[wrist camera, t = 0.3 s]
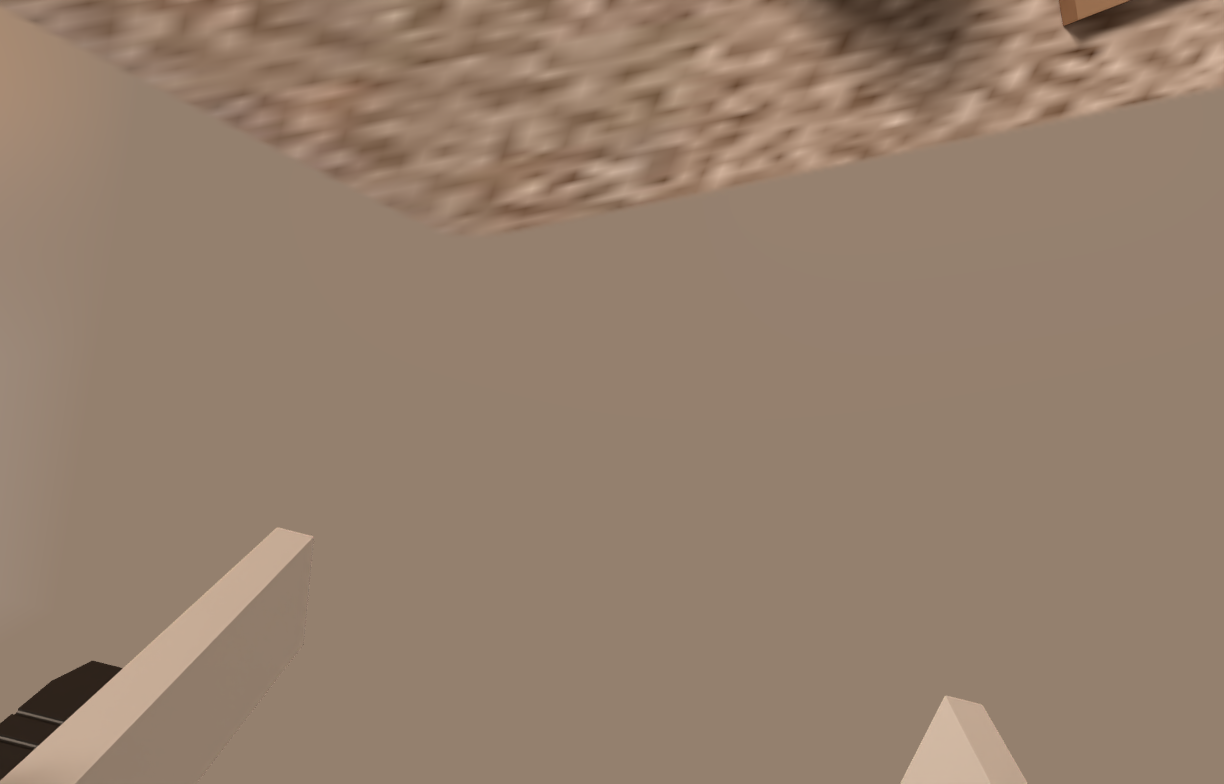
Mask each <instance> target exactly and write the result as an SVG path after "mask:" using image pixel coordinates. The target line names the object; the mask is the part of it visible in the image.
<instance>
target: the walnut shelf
mask: <svg viewBox="0 0 1224 784" xmlns="http://www.w3.org/2000/svg"><path fill="white" fill-rule="evenodd" d="M1128 1H1131V0H1059V3H1060V9H1061V15H1062V20H1063V26H1065V25H1068V24H1070V23H1073V22H1076V21H1078V20H1081V19H1083V18H1086V17H1089V16H1091V15H1094V14H1097V13H1099V12H1102V11H1104V10H1107V9H1110V8H1112V7H1115V6H1118V5H1120V4H1123V3H1126V2H1128Z"/></svg>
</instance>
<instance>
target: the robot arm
mask: <svg viewBox="0 0 1224 784" xmlns="http://www.w3.org/2000/svg"><path fill="white" fill-rule="evenodd" d="M313 540H314V537H313V536H310V535H306V534H302V533H298V532H294V531H290V530H286V529H282V528H278V527H277V528H276V529H275V530H274V531H273V532H271V533H270V534H269V535H268V536H267V537H266V538H265V539H264V540H263V541H262V542H261V543H260V544H258V545H257V546H256V547H255V548H254V549H253V550H252V551H251V552H250V553H249V554H248V555H246V556H245V557H244V558H243V559H242V560H241V561H240V562H239V563H238V564H237V565H235V566H234V567H233V568H232V569H231V570H230V571H229V572H228V573H227V574H226V575H225V576H224V577H222V578H221V579H220V580H219V581H218V582H217V583H216V584H215V585H214V586H212V587H211V588H210V589H209V590H208V591H207V592H206V593H205V594H204V595H203V596H202V597H201V598H199V599H198V600H197V601H196V602H195V603H194V604H193V605H192V606H191V607H190V608H188V609H187V610H186V611H185V612H184V613H183V614H182V615H181V616H180V617H179V618H178V619H177V620H175V621H174V622H173V623H172V624H171V625H170V626H169V627H168V628H167V629H166V630H164V631H163V632H162V633H161V634H160V635H159V636H158V637H157V638H156V639H155V640H154V641H152V642H151V643H150V644H149V645H148V646H147V647H146V648H145V649H144V650H143V651H141V653H139V654H138V655H137V656H136V657H135V658H134V659H133V660H132V661H131V662H129V663H128V664H127V665H126V666H125V667H124V668H120V667H116V666H111V665H107V664H104V663H100V662H96V661H91V662H89V663H87V664H85V665H83V666H81V667H79V668H77V669H75V670H73V671H71V672H69V673H67V674H65V675H63V676H61V677H59V678H57V679H55V680H53V681H51V682H50V683H49V684H48V685H46V686H45V687H44V688H43V689H41V690H40V691H39V692H38V693H37V694H35V695H34V696H33V697H32V698H31V699H29V700H28V701H27V702H26V703H24V704H23V705H22V706H21V707H20V708H19V709H18V711H17V713H16V714H15V715H13V714H11V715H10V716H9V717H8V718H6V719H5V720H4V721H3V722H2V723H0V784H196V783H197V782H198V781H199V780H200V778H201V777H202V776H203V774H204V773H205V772H206V770H207V769H208V768H209V767H210V765H211V764H212V763H213V761H214V760H215V759H216V758H217V756H218V755H219V754H220V752H221V751H222V750H223V748H224V747H225V746H226V745H227V743H228V742H229V741H230V739H231V738H232V737H233V735H234V734H235V733H236V732H237V730H238V729H239V728H240V726H241V725H242V724H243V722H244V721H245V720H246V719H247V717H248V716H249V715H250V713H251V712H252V711H253V710H254V708H255V707H256V706H257V704H258V703H259V702H260V700H261V699H262V698H263V697H264V695H265V694H266V693H267V691H268V690H269V688H270V687H271V686H272V685H273V684H274V682H275V681H276V680H277V678H278V677H279V676H280V674H281V673H282V672H283V670H284V669H285V668H286V667H287V665H288V664H289V663H290V661H291V660H292V659H293V658H294V656H295V655H296V654H297V652H298V651H299V650H300V648H301V647H302V646H303V643H304V634H305V623H306V613H307V602H308V592H309V582H310V571H311V561H312V550H313ZM900 784H1028V783H1027V781H1026V780H1025V778H1024V776H1023V774H1022V773H1021V771H1020V769H1019V767H1018V766H1017V764H1016V762H1015V760H1014V759H1013V757H1012V756H1011V753H1010V752H1009V750H1008V748H1007V747H1006V745H1005V743H1004V741H1003V740H1002V738H1001V736H1000V734H999V733H998V731H997V729H996V728H995V726H994V724H993V722H992V721H991V719H990V717H989V715H988V714H987V712H986V710H985V709H984V707H983V705H982V704H978V703H974V702H970V701H966V700H962V699H958V698H954V697H950V696H946V695H945V697H944V699H943V701H942V703H941V705H940V706H939V708H938V710H937V712H936V714H935V716H934V718H933V720H932V722H931V724H930V726H929V728H928V730H927V732H926V734H925V736H924V738H923V740H922V742H921V744H920V746H919V748H918V750H917V752H916V754H915V756H914V758H913V760H912V762H911V764H910V765H909V768H908V769H907V771H906V773H905V775H904V777H903V779H902V781H901V783H900Z"/></svg>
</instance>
